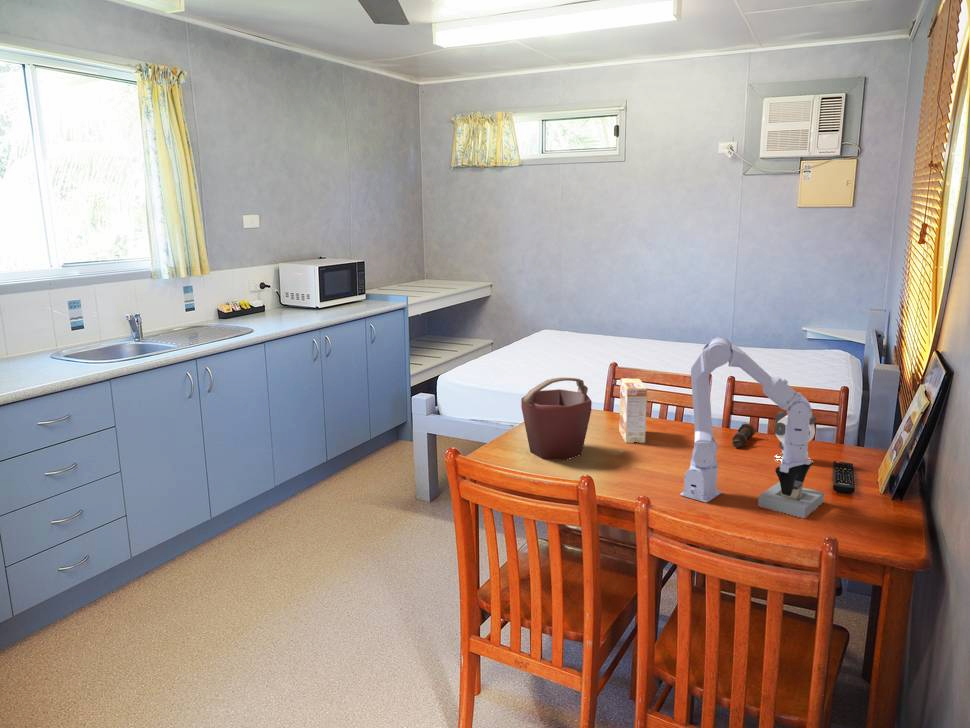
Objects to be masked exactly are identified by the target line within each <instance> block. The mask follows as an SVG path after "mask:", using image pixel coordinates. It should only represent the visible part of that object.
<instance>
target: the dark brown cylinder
mask: <svg viewBox="0 0 970 728" xmlns="http://www.w3.org/2000/svg"><path fill="white" fill-rule="evenodd" d="M755 434H756V430H755V428H754V426H753V425H752V424H751V423H742V424H741V425H740V427H739V428H738V429H737V432H736V433H735V434H734V435H733V437H732V438H731V440H732V443H731V445H732V446H733V447H734V448H736V449H737V448H738V449H739V448H741V447H744V446H746V443H747V442H748V441H749V439H747V438H751V439H752V437H754V435H755Z"/></svg>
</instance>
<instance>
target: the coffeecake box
mask: <svg viewBox="0 0 970 728" xmlns="http://www.w3.org/2000/svg"><path fill="white" fill-rule="evenodd" d="M619 392H620V393H619V394H620V395H619V399H620V400H619V425H618V428H619V429H618V431H619V433H620V434H621V437H622V438H623V440H624V442H625V443H626V442H627V443H626V444H635V443H634V442H637V443H636V444H645V443H646V425H647V403H648V401H647V397H648V396H647V395H648V387H646V385H645V384H644V382H642V380H641V379H640V378H626V377H625V378H620V391H619ZM628 442H629V443H628ZM638 442H639V443H638Z"/></svg>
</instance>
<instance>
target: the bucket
mask: <svg viewBox="0 0 970 728" xmlns="http://www.w3.org/2000/svg"><path fill="white" fill-rule="evenodd" d="M563 381H565V382H566V381H569V382H571V381H572V382H576V386H577V391H573V390H566V389H559V388H558V389H545V388H546V387H548V386H551V384H553V383H558V382H563ZM543 389H545V390H543ZM588 390H589V387H587V385H585V382H584V380H582V379H581V378H576V377H562V376H561V377H555V378H554V377H553V378H549V379H546V380H544V381H541V382H540V383H539V384H537V385H536V386H535V387H533V388H531V389H529V390H528V392H527V393H526V395H524V396H523V397H521V400H520V401H521V402H520V405H521V407H520V408H521V412H522V417H523V421H524V422H523V423H524V427H525V432H526V437H527V442H528V448H529V452H530V453H531V454H533V455H535V456H537V457H538V458H540V459H541V460H551V461H552V460H554V461H555V460H558V461H567V459H568V460H570V459H569V458H571V459H573V458H572V457H574V458H576V457H575V456H577V457H579V456H578V455H580V456H582V454H583V448H584V445H585V440H586V436H587V431H588V427H589V423H590V419H591V415H592V414H591V413H592V406H593V405H592V404H593V403H592V399H591V398H590V396H589V395H588Z"/></svg>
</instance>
